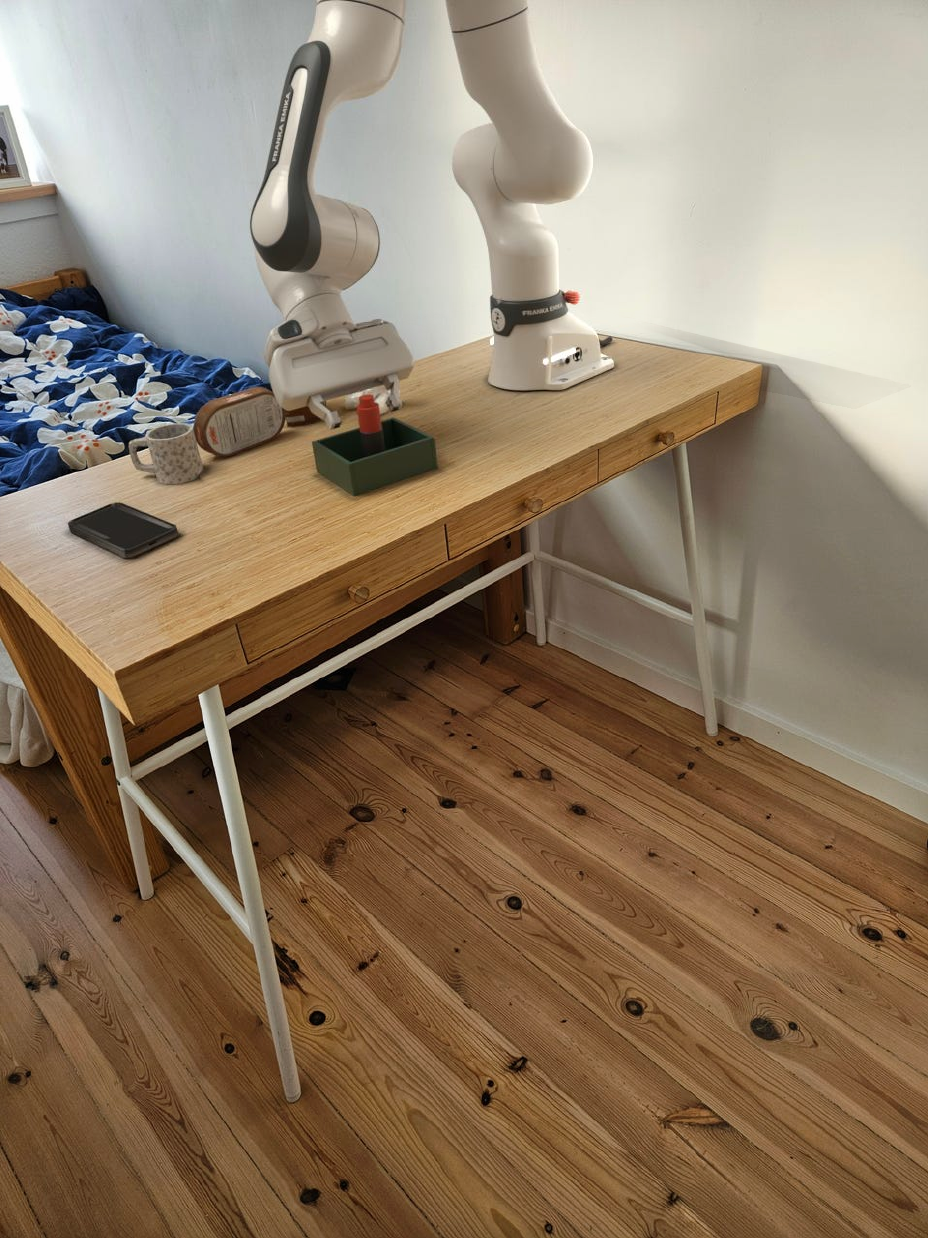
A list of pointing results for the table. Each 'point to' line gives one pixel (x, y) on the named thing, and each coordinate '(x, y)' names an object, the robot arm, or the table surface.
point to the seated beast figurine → (379, 397)
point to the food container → (302, 416)
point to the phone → (123, 529)
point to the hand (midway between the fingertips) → (366, 417)
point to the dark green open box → (375, 457)
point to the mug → (170, 453)
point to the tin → (239, 422)
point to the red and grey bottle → (370, 426)
